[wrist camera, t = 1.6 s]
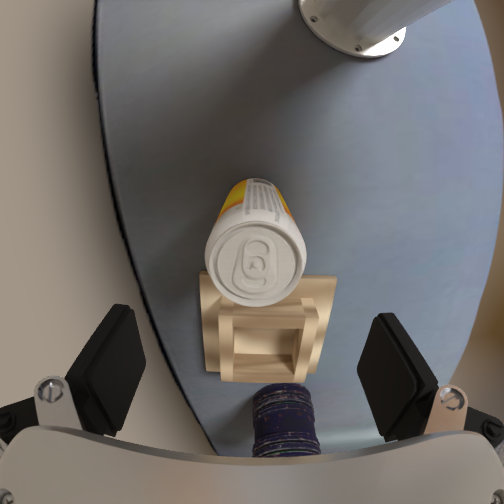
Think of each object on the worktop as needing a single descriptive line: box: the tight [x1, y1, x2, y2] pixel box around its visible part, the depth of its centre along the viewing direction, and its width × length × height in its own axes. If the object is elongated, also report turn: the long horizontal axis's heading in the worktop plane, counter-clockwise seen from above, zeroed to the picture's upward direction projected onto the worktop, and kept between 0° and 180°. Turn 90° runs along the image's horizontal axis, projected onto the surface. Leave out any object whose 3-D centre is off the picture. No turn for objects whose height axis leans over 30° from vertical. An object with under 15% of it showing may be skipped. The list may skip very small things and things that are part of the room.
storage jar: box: [252, 383, 321, 458], centre depth 35 cm, size 10×10×15 cm
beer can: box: [205, 178, 306, 307], centre depth 22 cm, size 6×6×15 cm
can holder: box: [199, 271, 337, 383], centre depth 33 cm, size 16×16×5 cm
